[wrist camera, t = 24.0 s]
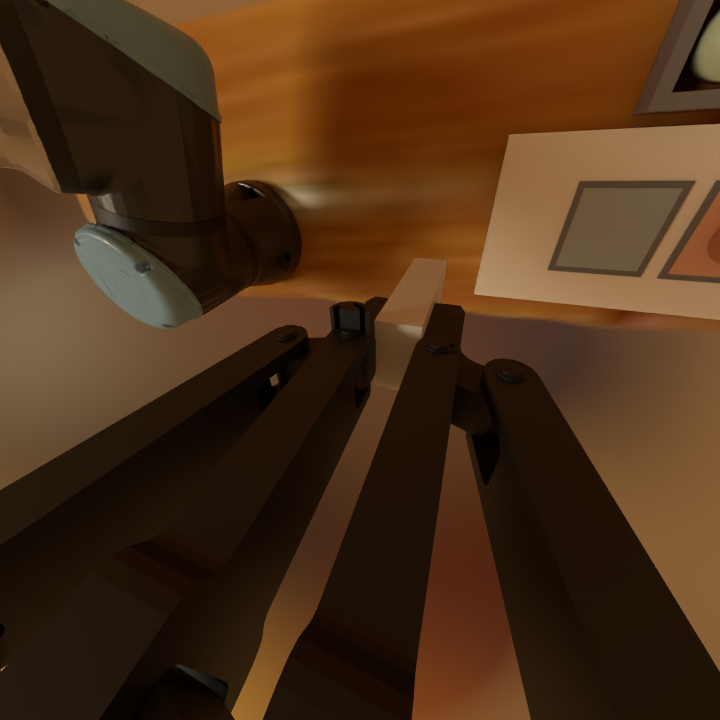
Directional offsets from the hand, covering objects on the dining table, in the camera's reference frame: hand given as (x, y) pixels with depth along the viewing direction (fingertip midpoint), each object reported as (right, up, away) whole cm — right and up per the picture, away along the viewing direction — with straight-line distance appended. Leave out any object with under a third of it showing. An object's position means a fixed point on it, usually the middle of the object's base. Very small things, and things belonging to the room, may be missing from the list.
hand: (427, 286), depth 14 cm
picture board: (+25, +10, +16) cm, 32 cm away
